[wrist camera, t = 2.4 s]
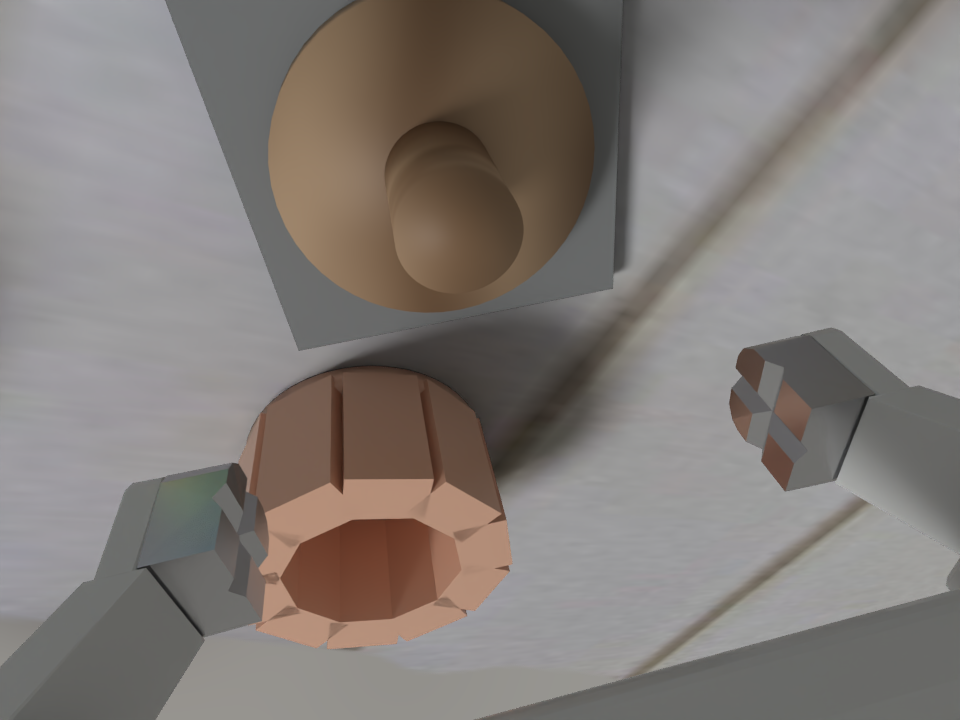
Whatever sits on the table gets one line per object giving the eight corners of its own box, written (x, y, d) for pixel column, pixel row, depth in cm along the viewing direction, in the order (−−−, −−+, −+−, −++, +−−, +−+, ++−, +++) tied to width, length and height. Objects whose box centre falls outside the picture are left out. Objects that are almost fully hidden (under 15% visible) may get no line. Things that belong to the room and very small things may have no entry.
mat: (615, -107, 16) (626, -107, 15) (605, 278, 24) (612, 288, 23) (158, -40, 15) (151, -37, 15) (300, 338, 23) (298, 350, 22)
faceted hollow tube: (465, 339, 24) (496, 446, 20) (491, 505, 31) (519, 614, 26) (204, 392, 23) (171, 516, 19) (289, 551, 30) (280, 671, 25)
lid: (580, -45, 16) (662, -22, 12) (583, 265, 22) (637, 350, 18) (219, 13, 15) (177, 57, 11) (323, 317, 21) (320, 417, 17)
